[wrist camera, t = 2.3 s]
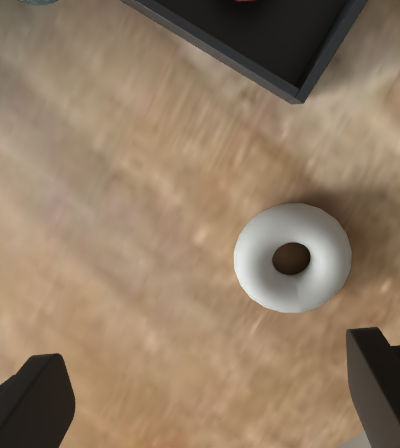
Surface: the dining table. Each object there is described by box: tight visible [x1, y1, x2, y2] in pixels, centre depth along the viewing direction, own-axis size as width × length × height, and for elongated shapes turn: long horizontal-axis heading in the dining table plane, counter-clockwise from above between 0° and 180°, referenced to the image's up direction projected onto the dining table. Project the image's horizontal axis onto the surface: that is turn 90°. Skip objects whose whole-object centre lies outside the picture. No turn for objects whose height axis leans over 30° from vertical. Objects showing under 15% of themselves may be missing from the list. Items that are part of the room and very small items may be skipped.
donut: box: [234, 203, 352, 313], centre depth 32 cm, size 10×3×10 cm
